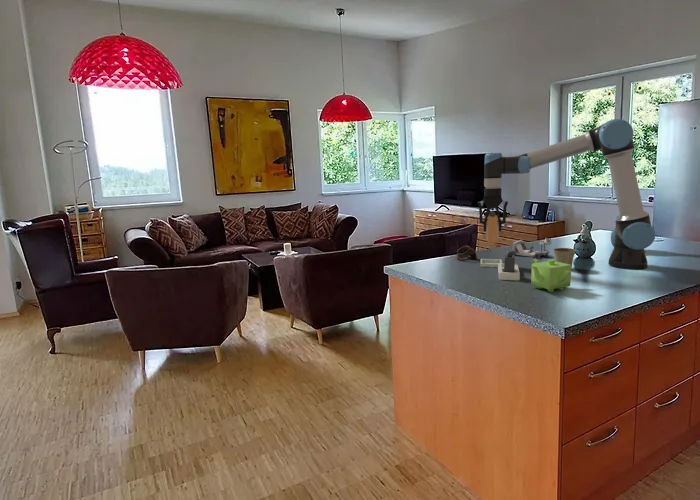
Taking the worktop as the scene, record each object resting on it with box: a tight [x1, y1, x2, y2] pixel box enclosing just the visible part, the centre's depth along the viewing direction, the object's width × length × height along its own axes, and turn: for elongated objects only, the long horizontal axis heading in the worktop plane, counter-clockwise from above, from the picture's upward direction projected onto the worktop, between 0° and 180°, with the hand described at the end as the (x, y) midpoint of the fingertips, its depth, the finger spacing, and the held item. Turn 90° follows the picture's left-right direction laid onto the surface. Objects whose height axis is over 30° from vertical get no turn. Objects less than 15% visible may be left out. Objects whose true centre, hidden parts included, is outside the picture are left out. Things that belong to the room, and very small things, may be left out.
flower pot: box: [552, 247, 577, 269], centre depth 211 cm, size 9×9×9 cm
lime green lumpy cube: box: [530, 258, 573, 293], centre depth 180 cm, size 15×14×11 cm
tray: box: [479, 258, 503, 268], centre depth 222 cm, size 10×11×2 cm
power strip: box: [497, 250, 521, 281], centre depth 203 cm, size 8×18×11 cm, turn 164°
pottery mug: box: [456, 245, 478, 261], centre depth 236 cm, size 12×10×8 cm
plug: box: [487, 211, 498, 244], centre depth 219 cm, size 4×5×14 cm
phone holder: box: [511, 237, 553, 260], centre depth 240 cm, size 18×10×12 cm
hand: (492, 238), depth 220 cm, fingers closed on plug, 4 cm apart
